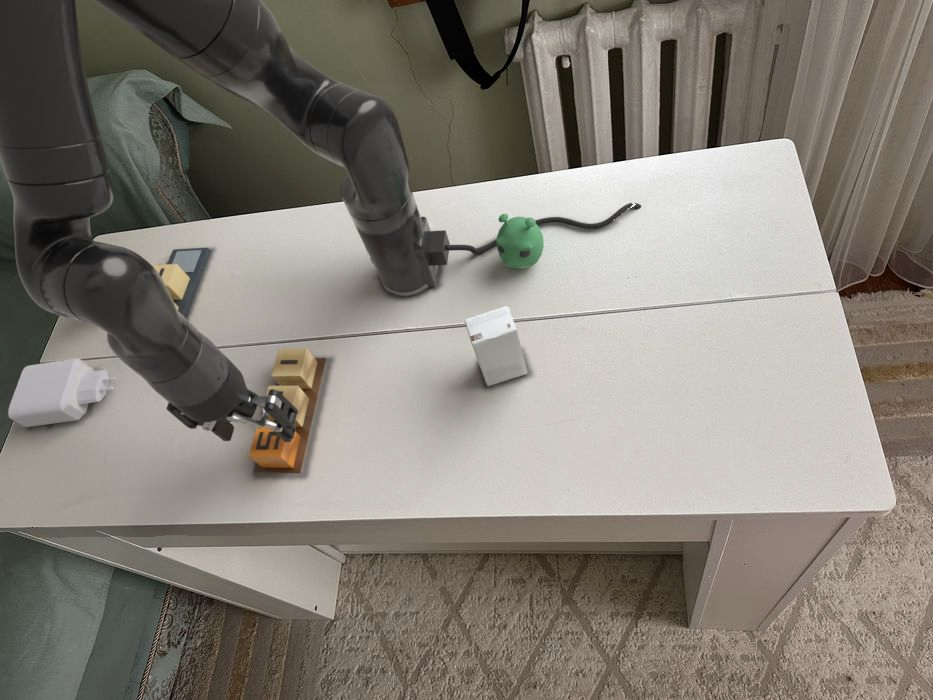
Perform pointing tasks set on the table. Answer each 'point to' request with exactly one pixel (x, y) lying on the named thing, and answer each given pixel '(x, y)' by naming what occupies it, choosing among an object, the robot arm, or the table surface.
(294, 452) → the tile
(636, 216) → the table surface
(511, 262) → the alien toy
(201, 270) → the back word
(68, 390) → the charger
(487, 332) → the cosmetic box
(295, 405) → the front word
